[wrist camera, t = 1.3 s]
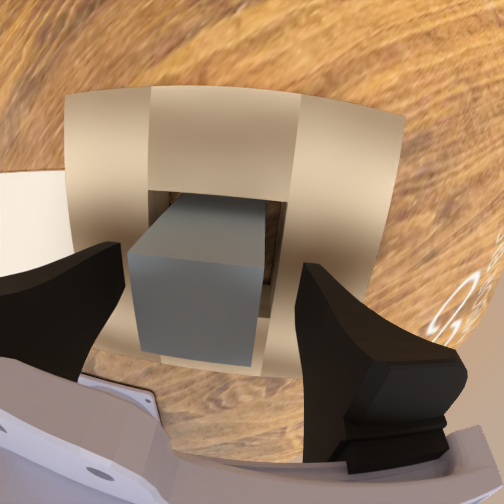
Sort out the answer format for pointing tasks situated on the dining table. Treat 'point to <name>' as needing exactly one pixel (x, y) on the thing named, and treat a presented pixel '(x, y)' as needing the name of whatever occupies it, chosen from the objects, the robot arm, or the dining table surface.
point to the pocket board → (234, 189)
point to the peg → (200, 279)
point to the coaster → (33, 220)
